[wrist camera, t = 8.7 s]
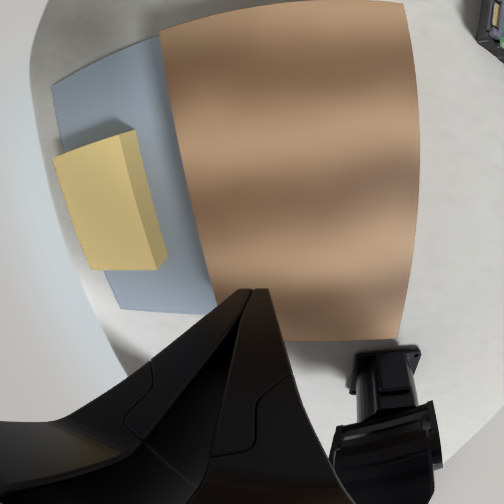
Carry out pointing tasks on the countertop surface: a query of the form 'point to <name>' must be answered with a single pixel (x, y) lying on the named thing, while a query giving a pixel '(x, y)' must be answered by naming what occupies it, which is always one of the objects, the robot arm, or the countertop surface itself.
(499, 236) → the countertop surface
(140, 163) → the block
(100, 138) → the mat
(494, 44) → the disk drive
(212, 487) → the robot arm
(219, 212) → the deck
